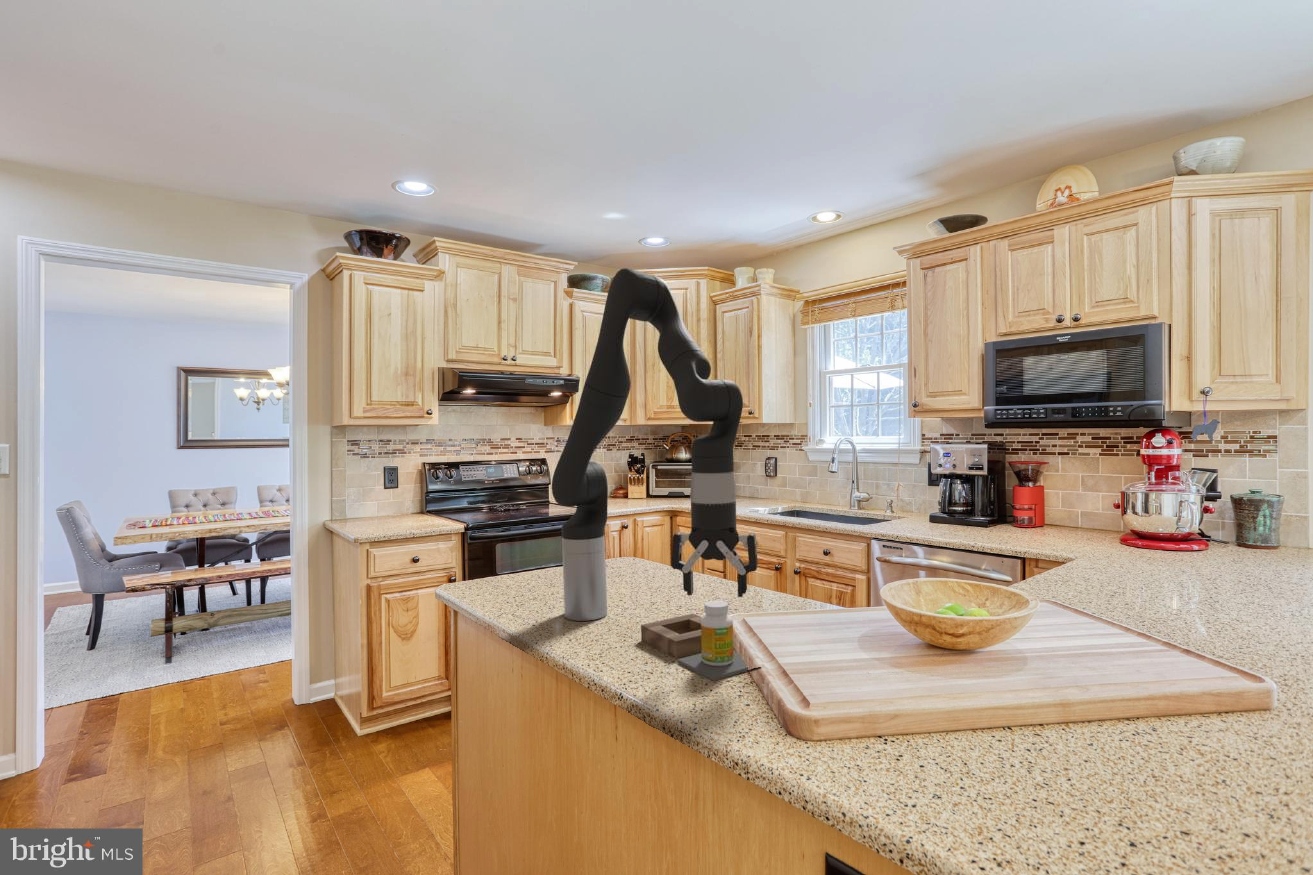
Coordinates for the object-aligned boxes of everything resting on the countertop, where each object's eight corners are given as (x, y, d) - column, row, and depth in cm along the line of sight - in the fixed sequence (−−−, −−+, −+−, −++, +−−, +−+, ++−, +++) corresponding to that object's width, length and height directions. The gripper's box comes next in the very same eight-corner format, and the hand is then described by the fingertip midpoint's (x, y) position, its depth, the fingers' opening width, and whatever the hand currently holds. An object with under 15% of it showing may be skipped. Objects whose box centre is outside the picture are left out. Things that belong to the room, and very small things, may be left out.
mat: (678, 662, 112) (677, 659, 112) (724, 650, 118) (724, 647, 118) (713, 681, 104) (713, 677, 104) (761, 666, 109) (761, 663, 109)
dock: (641, 640, 125) (640, 624, 125) (693, 628, 131) (692, 613, 131) (676, 658, 115) (675, 641, 115) (730, 644, 121) (730, 628, 121)
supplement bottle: (715, 669, 107) (713, 610, 107) (695, 660, 112) (693, 603, 112) (740, 661, 110) (738, 604, 110) (720, 653, 115) (718, 597, 115)
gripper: (757, 496, 112) (759, 590, 113) (676, 496, 116) (678, 587, 116) (754, 502, 105) (755, 603, 105) (666, 501, 108) (668, 599, 109)
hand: (715, 594), depth 111 cm, fingers open, 8 cm apart
